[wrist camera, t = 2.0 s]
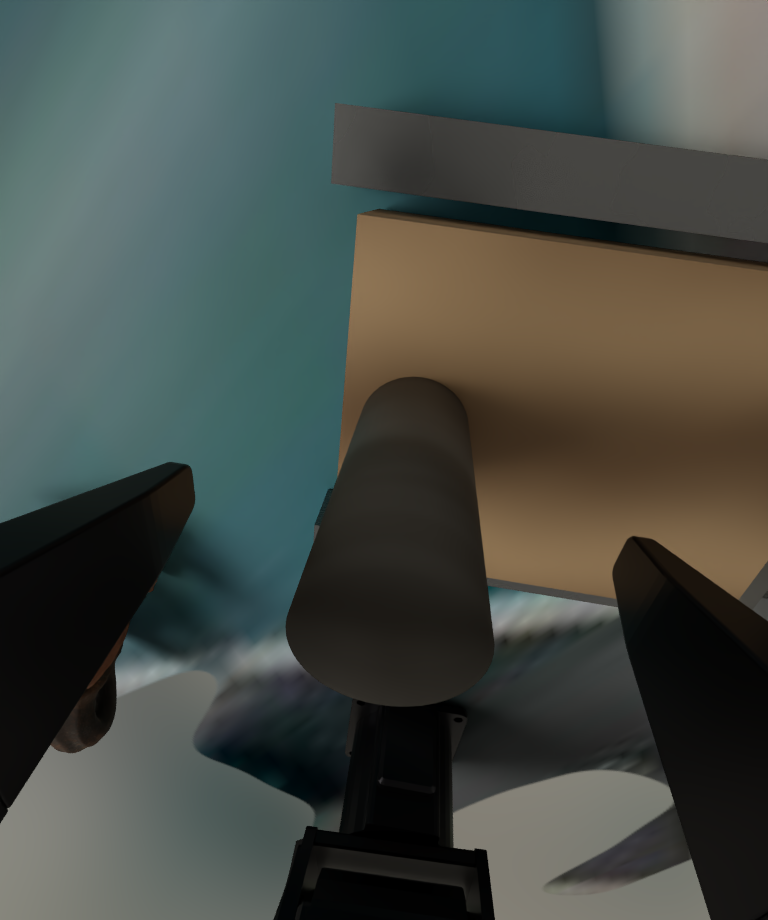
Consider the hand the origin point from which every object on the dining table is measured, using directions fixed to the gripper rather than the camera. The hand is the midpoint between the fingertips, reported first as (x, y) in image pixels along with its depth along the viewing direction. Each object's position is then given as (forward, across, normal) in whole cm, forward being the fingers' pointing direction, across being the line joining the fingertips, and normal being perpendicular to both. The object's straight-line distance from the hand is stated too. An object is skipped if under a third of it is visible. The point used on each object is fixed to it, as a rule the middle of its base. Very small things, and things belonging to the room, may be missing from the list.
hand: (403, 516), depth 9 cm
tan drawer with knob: (+8, -4, 0) cm, 9 cm away
